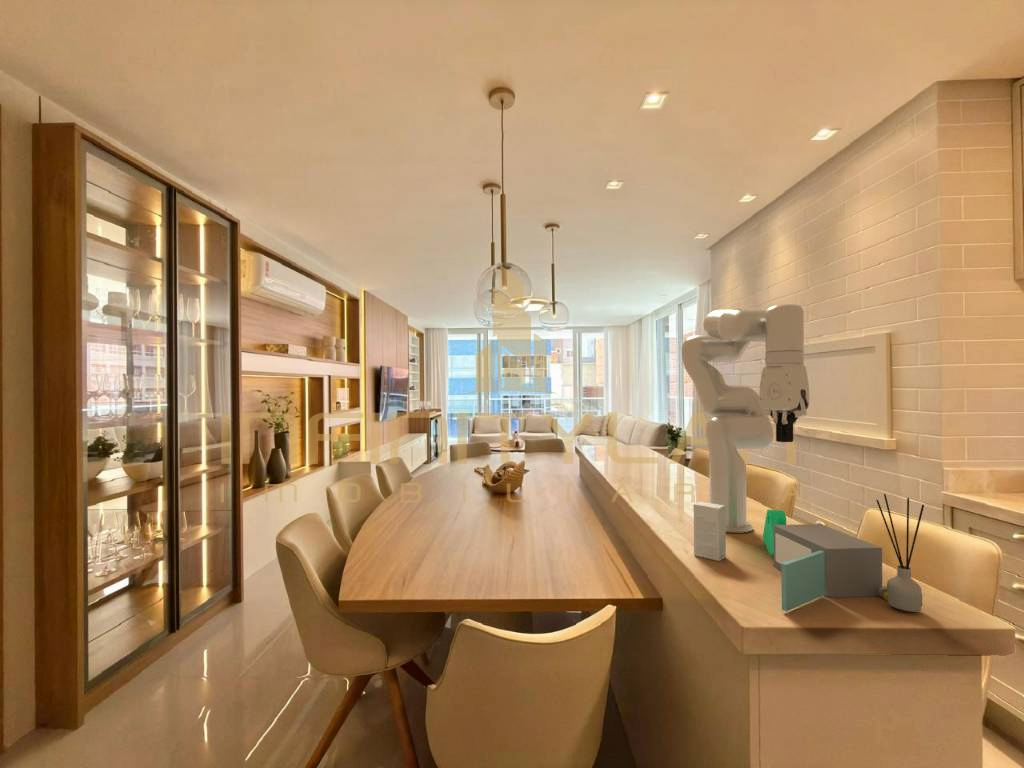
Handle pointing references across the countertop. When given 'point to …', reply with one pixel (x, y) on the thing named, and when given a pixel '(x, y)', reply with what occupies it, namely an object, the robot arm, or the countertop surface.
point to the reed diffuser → (902, 574)
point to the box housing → (833, 558)
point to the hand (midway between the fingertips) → (784, 441)
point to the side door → (802, 580)
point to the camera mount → (772, 519)
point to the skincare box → (709, 531)
